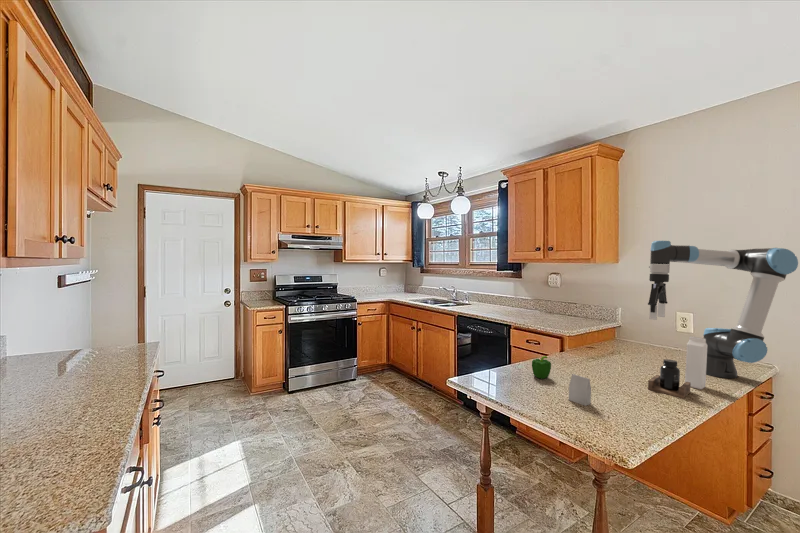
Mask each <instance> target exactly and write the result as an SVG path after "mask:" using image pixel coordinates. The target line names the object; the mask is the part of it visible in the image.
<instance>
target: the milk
mask: <svg viewBox="0 0 800 533" xmlns="http://www.w3.org/2000/svg"><path fill="white" fill-rule="evenodd" d="M685 356H686V357H685V376H684V383H685V382H690V383H691V385H690V388H694V389H698V390H703V389H704V388H706V382H707V381H706V380H707V379H706V378H707V374H706V364H707V344H706V339H704V337H703V338H702V337H696V336H689V338H688V341H687V342H686V355H685Z"/></svg>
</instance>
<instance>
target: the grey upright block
mask: <svg viewBox="0 0 800 533" xmlns="http://www.w3.org/2000/svg"><path fill="white" fill-rule="evenodd" d="M568 385H569V386H568V401H571V402H574V403H575V404H578V405H582V406H585V407H587V406H588V405H591V404H592V403H591V401H592V385H591V381H590V378H588V377H586V376H585V377H584V376H581V375H577V374H574V373H572V374H571V377H570V380H569V384H568Z"/></svg>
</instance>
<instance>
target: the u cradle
mask: <svg viewBox="0 0 800 533" xmlns="http://www.w3.org/2000/svg"><path fill="white" fill-rule="evenodd" d="M690 385H691V383H690V382H685V381H684V383H683V384H682V385H681V386H679V390H677V391H672V390H667V389H663V388H661V387H660V374H659V375H658V374H656V375H654V376H653V377H651V378H649V379H648V382H647V390H649V391H653V392H657V393H661V394H665V395H668V396H673V397H676V398H681V399H684V398H685V397H687V396H688V394H690V393H691V387H690Z"/></svg>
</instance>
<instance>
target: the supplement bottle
mask: <svg viewBox="0 0 800 533" xmlns="http://www.w3.org/2000/svg"><path fill="white" fill-rule="evenodd" d="M662 361H663V362H662V364H663V365H661V366H660V367H659V368H660V370H659V376H660V387H661V388H663V389H667V390H672V391H677V390H679V387H680V381H681V380H680V379H681V376H680V375H681V370H680V368H679V367H678V361H677V360H674V359H668V358H665V359H663V360H662Z"/></svg>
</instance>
